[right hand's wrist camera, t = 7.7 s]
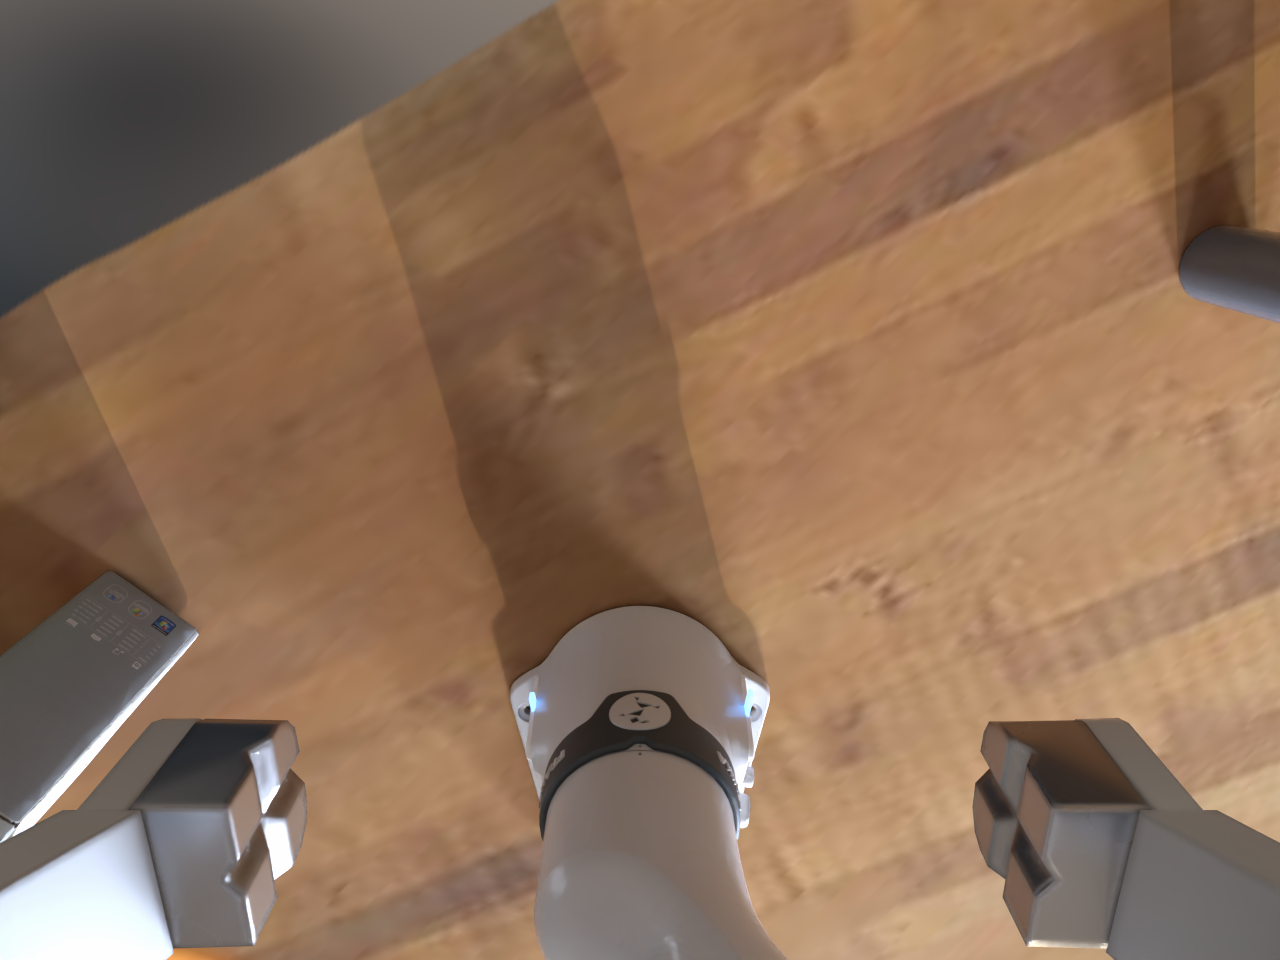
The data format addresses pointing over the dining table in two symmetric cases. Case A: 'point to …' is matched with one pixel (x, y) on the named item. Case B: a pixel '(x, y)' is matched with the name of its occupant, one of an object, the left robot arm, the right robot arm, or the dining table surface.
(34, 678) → the hard drive box
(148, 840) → the right robot arm
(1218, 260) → the dark grey cylinder
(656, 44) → the dining table surface
